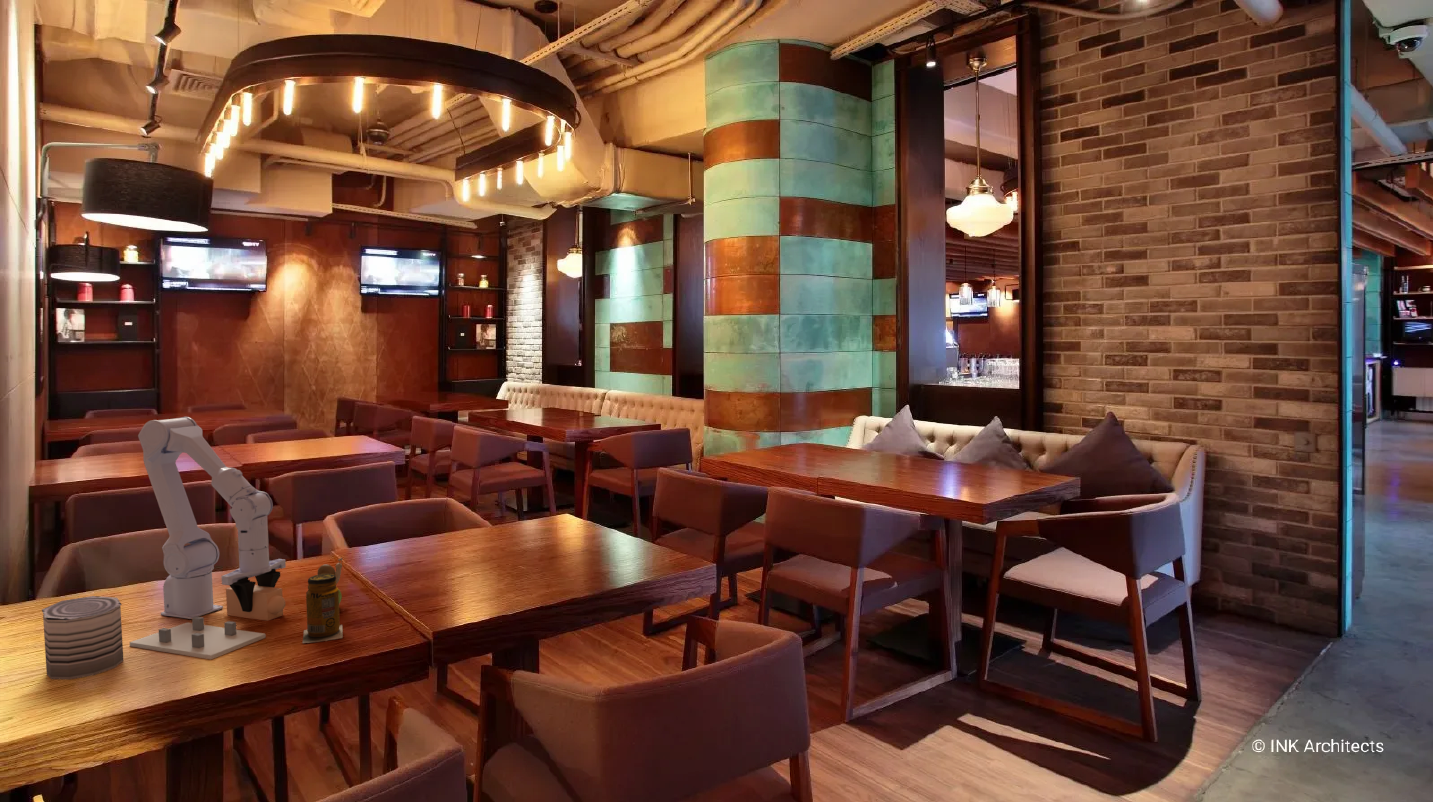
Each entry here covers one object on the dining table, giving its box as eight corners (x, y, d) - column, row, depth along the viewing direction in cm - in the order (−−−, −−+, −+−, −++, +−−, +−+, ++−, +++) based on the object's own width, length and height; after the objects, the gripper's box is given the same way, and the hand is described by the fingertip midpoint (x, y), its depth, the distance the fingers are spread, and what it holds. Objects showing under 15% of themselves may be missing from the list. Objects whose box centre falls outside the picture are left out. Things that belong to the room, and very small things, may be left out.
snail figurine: (335, 614, 175) (333, 561, 174) (309, 612, 176) (307, 560, 175) (351, 606, 180) (349, 555, 179) (326, 604, 181) (324, 553, 181)
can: (114, 650, 154) (111, 590, 153) (132, 665, 147) (128, 602, 146) (39, 669, 145) (35, 605, 145) (53, 685, 138) (49, 619, 137)
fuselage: (227, 614, 175) (225, 588, 175) (243, 609, 179) (242, 583, 178) (274, 621, 170) (273, 594, 170) (290, 615, 174) (289, 589, 174)
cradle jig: (129, 645, 157) (128, 629, 156) (187, 625, 168) (186, 610, 168) (210, 659, 149) (210, 642, 149) (265, 637, 161) (264, 621, 161)
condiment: (342, 625, 168) (340, 570, 167) (342, 638, 160) (340, 580, 159) (303, 631, 165) (301, 575, 164) (302, 644, 157) (299, 585, 156)
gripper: (237, 557, 166) (240, 620, 167) (294, 541, 179) (297, 599, 180) (213, 554, 168) (216, 616, 169) (271, 539, 182) (273, 596, 183)
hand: (256, 607), depth 175 cm, fingers closed on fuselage, 4 cm apart
